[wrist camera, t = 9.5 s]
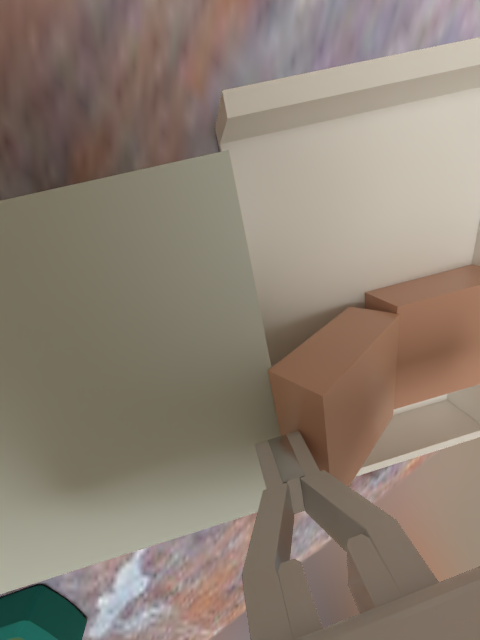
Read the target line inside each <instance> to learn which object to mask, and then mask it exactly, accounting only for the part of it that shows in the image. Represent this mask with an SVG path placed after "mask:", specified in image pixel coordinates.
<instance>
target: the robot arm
mask: <svg viewBox="0 0 480 640" xmlns="http://www.w3.org/2000/svg"><path fill="white" fill-rule="evenodd" d="M255 447H256V451H257V455H258V459H259V463H260V467H261V471H262V475H263V479H264V482H265V486H266V489H265V490H263V493H262V497H261V501H260V505H259V509H258V513H257V517H256V521H255V525H254V529H253V533H252V536H251V540H250V544H249V548H248V552H247V556H246V560H245V564H244V568H243V572H242V581H243V589H244V596H245V603H246V611H247V618H248V625H249V632H250V639H251V640H480V566H479V567H477V568H475V569H472V570H469V571H467V572H464V573H462V574H459V575H457V576H454V577H451V578H449V579H446V580H444V581H441V582H438V580H437V579H436V578H435V576H434V574H433V573H432V571H431V570H430V569H429V567H428V566H427V564H426V563H425V561H424V560H423V558H422V557H421V555H420V554H419V552H418V551H417V549H416V548H415V547H414V545H413V544H412V542H411V541H410V539H409V538H408V536H407V535H406V534H405V532H404V530H403V529H402V528H401V526H400V525H399V523H398V521H397V520H396V519H394V518H393V517H391V516H390V515H388V514H387V513H386V512H384V511H383V510H381V509H380V508H378V507H377V506H375V505H374V504H373V503H371V502H370V501H368V500H367V499H365V498H364V497H362V496H361V495H360V494H358V493H357V492H355V491H354V490H352V489H351V488H349V487H348V486H347V485H345V484H344V483H342V482H341V481H339V480H338V479H336V478H335V477H334V476H332V475H331V474H329V473H328V472H326V471H325V470H322V471H320V470H319V468H318V466H317V464H316V462H315V460H314V458H313V456H312V454H311V452H310V451H309V449H308V447H307V445H306V443H305V441H304V439H303V437H302V435H301V433H300V432H299V431H295V432H292V433H289V434H286V435H282V436H279V437H276V438H273V439H270V440H266V441H263V442H260V443H257V444H255ZM302 511H306V513H307V514H308V515H309V516H310V517H311V518H312V519H313V520H314V521H315V522H316V523H318V524H319V525H320V526H321V527H322V528H323V529H324V530H325V531H326V532H327V533H328V534H329V535H330V536H331V537H332V538H333V539H334V540H335V541H336V542H337V543H338V544H339V545H340V546H341V547H342V548H343V549H344V550H345V551H346V552H347V564H348V565H347V566H348V586H349V589H350V591H351V593H352V596H353V598H354V601H355V603H356V606H357V608H358V610H359V613H360V614H358V615H355V616H353V617H350V618H348V619H345V620H343V621H340V622H338V623H335V624H333V625H330V626H328V627H325V628H322V624H321V621H320V618H319V615H318V613H317V609H316V606H315V603H314V600H313V597H312V594H311V591H310V588H309V585H308V582H307V579H306V576H305V573H304V570H303V567H302V564H301V562H299V561H298V560H296V559H291V560H290V553H291V543H292V534H293V525H294V514H296V513H299V512H302Z"/></svg>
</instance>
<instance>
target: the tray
mask: <svg viewBox="0 0 480 640" xmlns="http://www.w3.org/2000/svg"><path fill="white" fill-rule="evenodd" d="M215 132H216V137H217V142H218V146H219V151H220V152H221V151H226V150H229V153H230V158H231V163H232V169H233V174H234V179H235V184H236V189H237V194H238V199H239V204H240V209H241V214H242V220H243V225H244V230H245V235H246V240H247V245H248V250H249V255H250V260H251V265H252V271H253V276H254V281H255V286H256V291H257V296H258V301H259V306H260V311H261V316H262V322H263V327H264V332H265V337H266V342H267V347H268V352H269V357H270V362H271V367H273V366H274V365H275V364H277V363H278V362H279V361H281V360H282V359H283V358H284V357H286V356H287V355H288V354H290V353H291V352H292V351H293V350H295V349H296V348H297V347H298V346H300V345H301V344H302V343H304V342H305V341H306V340H307V339H309V338H310V337H311V336H313V335H314V334H315V333H316V332H318V331H319V330H320V329H321V328H323V327H324V326H325V325H327V324H328V323H329V322H330V321H332V320H333V319H334V318H335V317H337V316H338V315H339V314H341V313H342V312H343V311H344V310H346V309H347V308H348V307H356V308H363V309H365V292H368V291H372V290H375V289H379V288H383V287H387V286H391V285H395V284H398V283H402V282H406V281H410V280H414V279H418V278H422V277H425V276H429V275H433V274H437V273H441V272H445V271H448V270H452V269H456V268H460V267H464V266H468V265H478V266H480V37H479V38H474V39H469V40H464V41H459V42H454V43H450V44H445V45H440V46H435V47H430V48H425V49H421V50H416V51H411V52H406V53H401V54H396V55H391V56H387V57H382V58H377V59H372V60H367V61H362V62H358V63H353V64H348V65H343V66H338V67H333V68H328V69H324V70H319V71H314V72H309V73H304V74H299V75H295V76H290V77H285V78H280V79H275V80H270V81H265V82H261V83H256V84H251V85H246V86H241V87H236V88H232V89H227V90H222V94H221V100H220V105H219V110H218V115H217V121H216V126H215ZM478 437H480V384H479V385H475V386H472V387H468V388H465V389H462V390H458V391H455V392H451V393H448V394H445V395H441V396H438V397H435V398H431V399H428V400H424V401H421V402H418V403H414V404H411V405H407V406H404V407H401V408H397V409H394V410H393V417H392V419H391V421H390V422H389V424H388V425H387V427H386V429H385V430H384V432H383V433H382V435H381V436H380V438H379V440H378V441H377V443H376V444H375V446H374V448H373V449H372V451H371V452H370V454H369V456H368V457H367V459H366V460H365V462H364V464H363V465H362V467H361V468H360V470H359V472H358V473H357V475H356V476H359V475H362V474H365V473H368V472H371V471H374V470H377V469H381V468H384V467H387V466H390V465H393V464H396V463H399V462H403V461H406V460H409V459H412V458H415V457H418V456H421V455H425V454H428V453H431V452H434V451H437V450H440V449H443V448H447V447H450V446H453V445H456V444H459V443H462V442H465V441H468V440H472V439H475V438H478Z"/></svg>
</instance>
